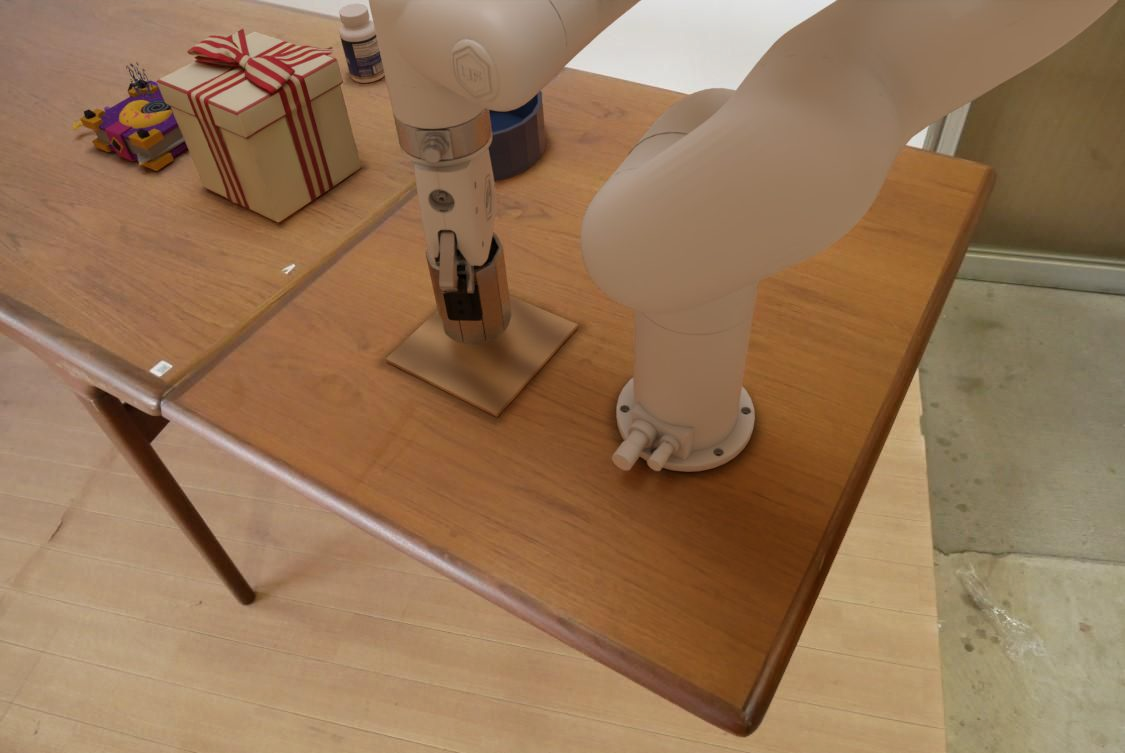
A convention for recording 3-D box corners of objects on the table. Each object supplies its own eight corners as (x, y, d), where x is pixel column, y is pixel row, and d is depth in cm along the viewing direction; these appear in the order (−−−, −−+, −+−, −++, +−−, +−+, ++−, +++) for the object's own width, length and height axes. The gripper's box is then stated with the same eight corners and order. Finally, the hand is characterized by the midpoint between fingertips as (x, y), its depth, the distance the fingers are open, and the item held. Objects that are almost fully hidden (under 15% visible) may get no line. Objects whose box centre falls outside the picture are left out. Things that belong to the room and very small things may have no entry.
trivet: (497, 417, 79) (496, 414, 79) (386, 362, 85) (385, 358, 84) (578, 327, 87) (577, 324, 86) (471, 282, 92) (470, 278, 92)
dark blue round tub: (496, 197, 103) (490, 151, 98) (397, 160, 109) (386, 115, 104) (569, 133, 111) (567, 88, 106) (473, 103, 118) (466, 59, 113)
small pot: (483, 355, 80) (471, 284, 73) (426, 327, 83) (410, 257, 76) (525, 312, 84) (517, 241, 77) (469, 287, 87) (457, 217, 80)
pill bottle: (348, 70, 126) (331, 5, 119) (383, 62, 127) (369, -2, 120) (353, 87, 123) (336, 21, 116) (389, 79, 124) (375, 13, 116)
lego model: (148, 94, 125) (110, 12, 116) (269, 135, 115) (238, 50, 106) (64, 143, 117) (17, 59, 107) (187, 192, 107) (147, 104, 98)
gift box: (384, 151, 111) (353, 23, 98) (287, 230, 100) (239, 98, 88) (289, 121, 117) (248, -3, 104) (189, 192, 107) (130, 64, 94)
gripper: (475, 189, 61) (500, 357, 74) (502, 69, 73) (519, 233, 86) (374, 189, 62) (416, 355, 75) (417, 70, 73) (447, 232, 86)
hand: (471, 289), depth 80 cm, fingers closed on small pot, 7 cm apart
